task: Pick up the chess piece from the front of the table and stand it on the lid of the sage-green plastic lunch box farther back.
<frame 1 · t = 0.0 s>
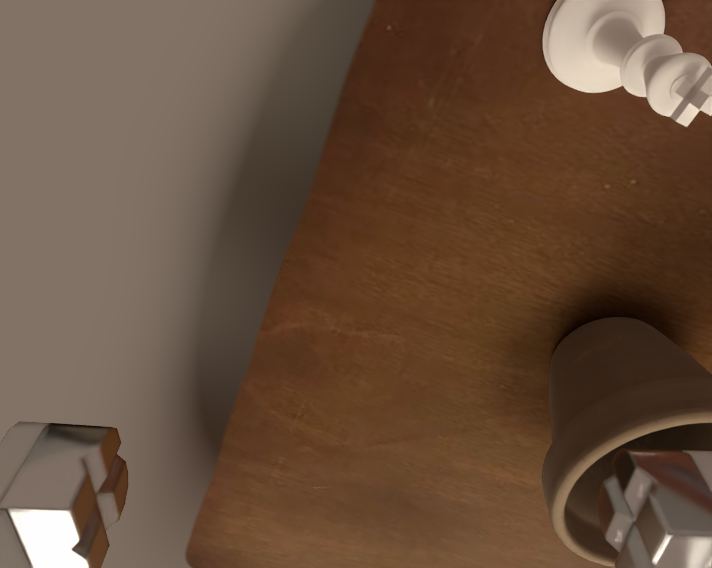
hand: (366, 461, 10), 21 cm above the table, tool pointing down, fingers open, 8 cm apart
chess piece: (599, 31, 26), on the table
flower pot: (605, 357, 37), on the table
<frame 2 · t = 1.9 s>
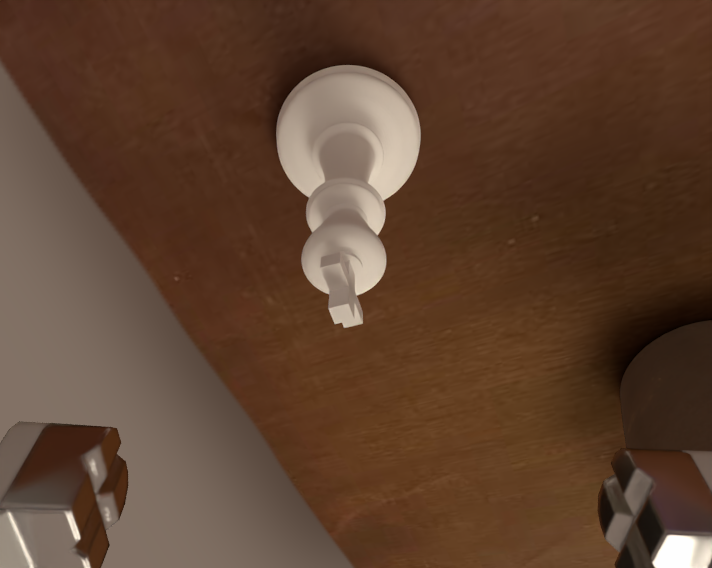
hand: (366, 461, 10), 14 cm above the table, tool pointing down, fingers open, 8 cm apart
chess piece: (348, 136, 21), on the table
flower pot: (695, 370, 27), on the table
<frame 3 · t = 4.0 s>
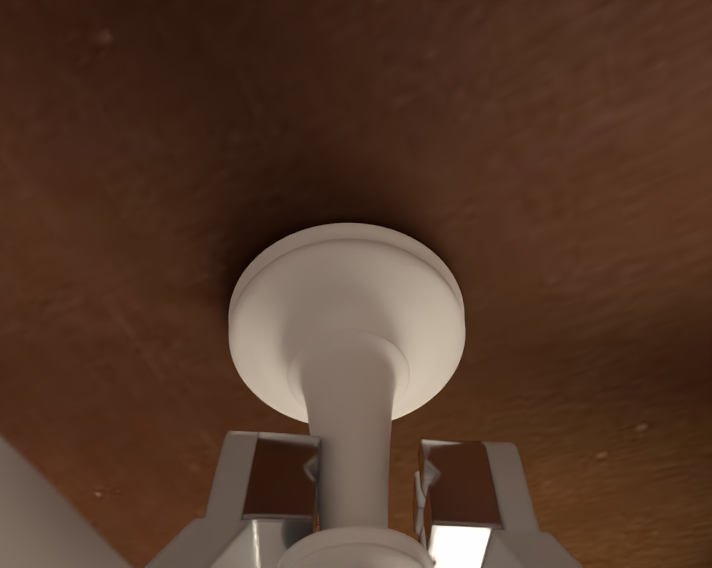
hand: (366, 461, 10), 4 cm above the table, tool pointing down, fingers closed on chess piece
chess piece: (346, 318, 13), on the table, touching gripper
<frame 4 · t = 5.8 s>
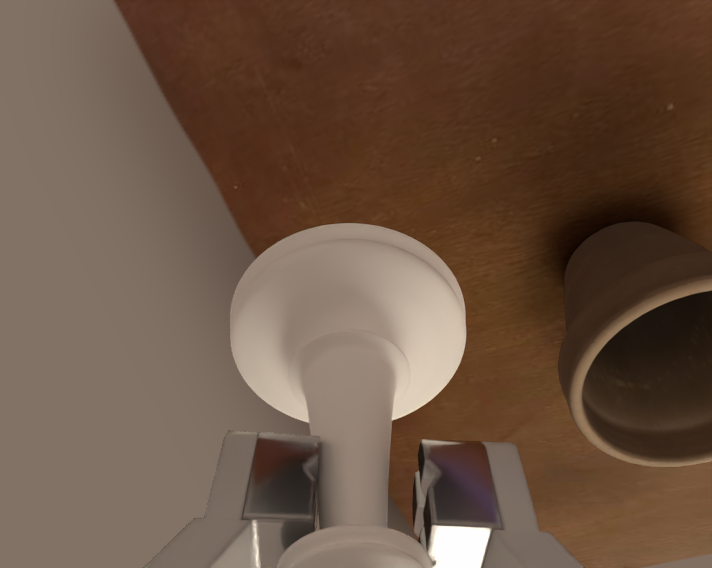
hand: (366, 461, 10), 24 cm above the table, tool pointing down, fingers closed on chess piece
chess piece: (348, 318, 13), point 20 cm above the table, touching gripper
flower pot: (622, 266, 36), on the table
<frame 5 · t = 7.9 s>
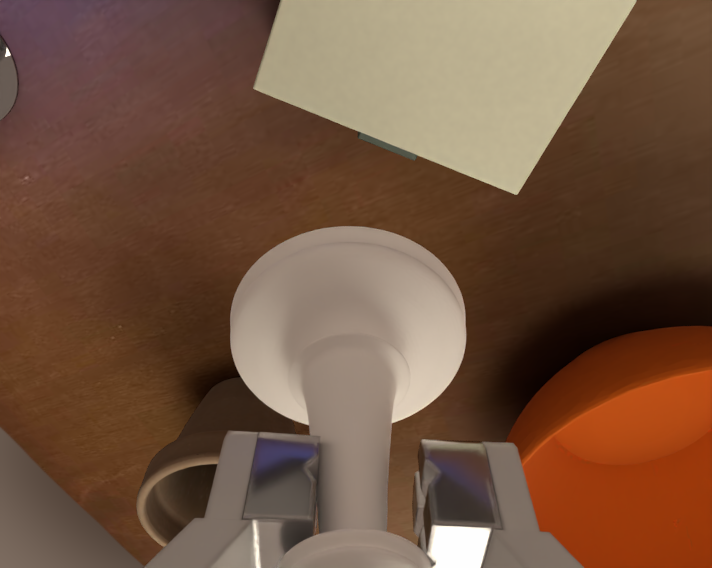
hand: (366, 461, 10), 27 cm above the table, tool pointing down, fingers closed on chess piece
bowl: (634, 398, 47), on the table
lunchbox: (427, 5, 32), on the table
chess piece: (348, 321, 13), point 24 cm above the table, touching gripper
flower pot: (250, 404, 48), on the table
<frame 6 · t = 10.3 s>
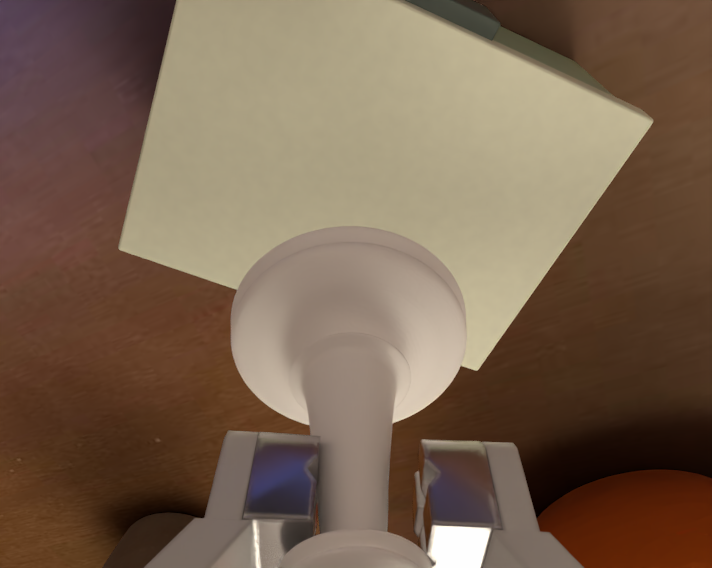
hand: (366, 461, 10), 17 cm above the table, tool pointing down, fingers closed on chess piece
bowl: (631, 536, 40), on the table
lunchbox: (367, 115, 25), on the table
chess piece: (348, 321, 13), point 14 cm above the table, touching gripper
flower pot: (181, 537, 41), on the table
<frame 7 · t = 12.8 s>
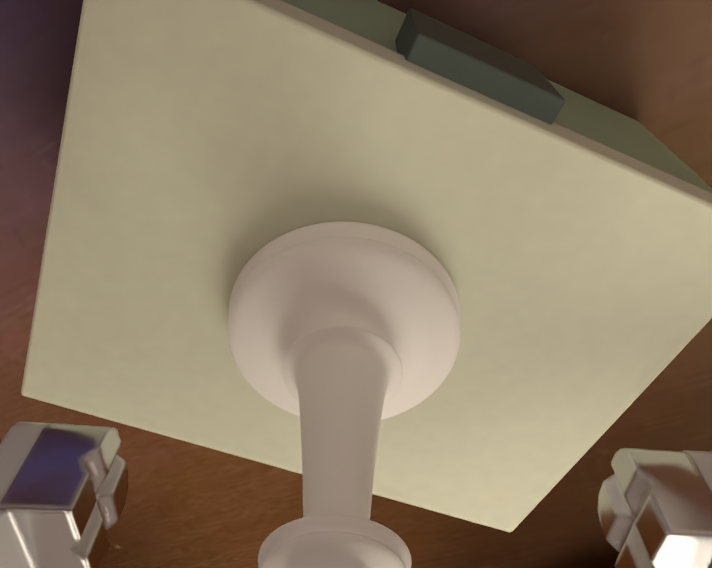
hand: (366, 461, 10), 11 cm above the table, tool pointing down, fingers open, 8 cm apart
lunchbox: (365, 186, 19), on the table
chess piece: (345, 316, 13), point 7 cm above the table, touching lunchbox
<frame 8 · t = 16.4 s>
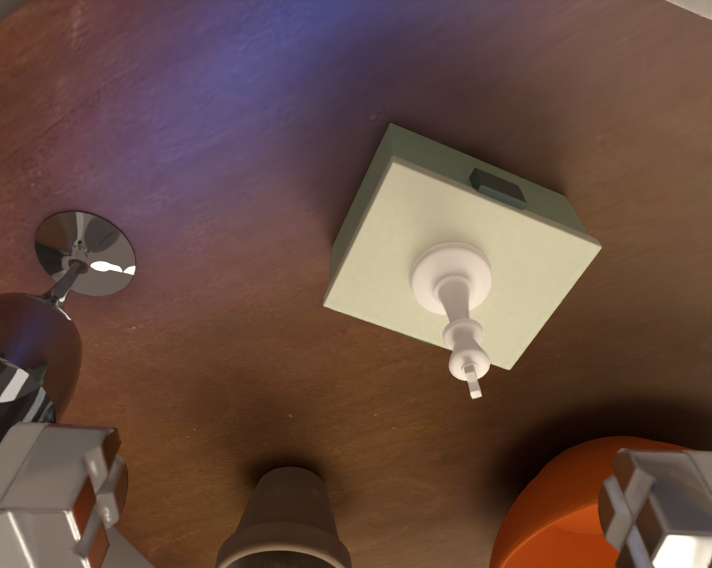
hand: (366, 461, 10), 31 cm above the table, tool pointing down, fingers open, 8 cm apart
bowl: (605, 484, 58), on the table
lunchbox: (445, 222, 43), on the table
chess piece: (449, 274, 37), point 7 cm above the table, touching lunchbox
flower pot: (294, 485, 59), on the table
wine glass: (87, 253, 45), on the table
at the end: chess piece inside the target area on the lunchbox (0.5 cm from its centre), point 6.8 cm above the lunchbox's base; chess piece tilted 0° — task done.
